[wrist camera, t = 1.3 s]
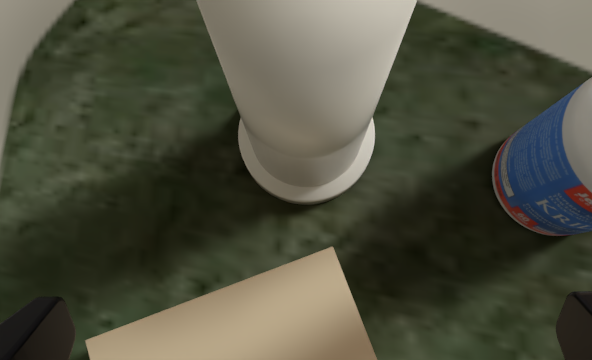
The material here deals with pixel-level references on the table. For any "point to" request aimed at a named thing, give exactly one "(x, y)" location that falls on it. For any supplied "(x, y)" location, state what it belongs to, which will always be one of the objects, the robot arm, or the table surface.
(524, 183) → the pill bottle
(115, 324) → the table surface
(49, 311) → the robot arm
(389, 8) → the white flanged cylinder
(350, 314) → the oak box
